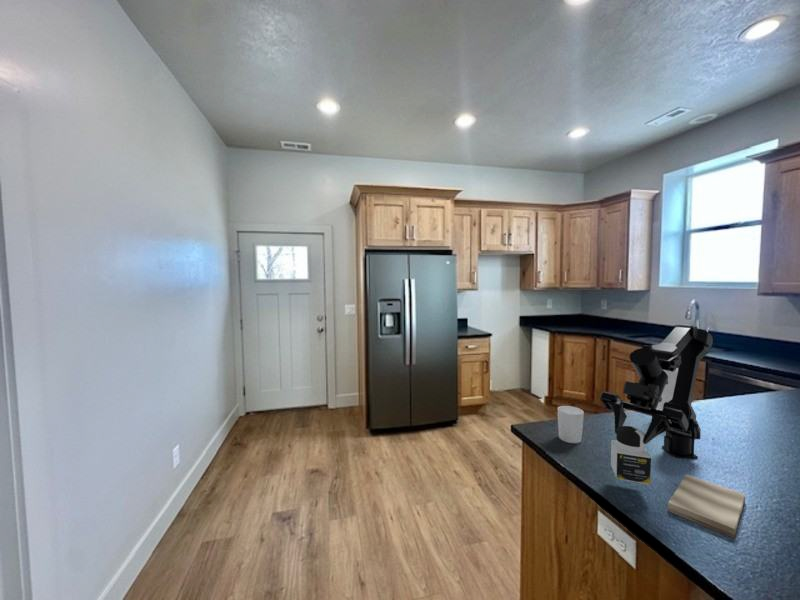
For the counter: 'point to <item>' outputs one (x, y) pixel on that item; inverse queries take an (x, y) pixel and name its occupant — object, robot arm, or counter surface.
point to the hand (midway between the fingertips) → (629, 438)
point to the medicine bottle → (630, 456)
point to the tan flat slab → (708, 504)
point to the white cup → (570, 424)
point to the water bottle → (668, 388)
